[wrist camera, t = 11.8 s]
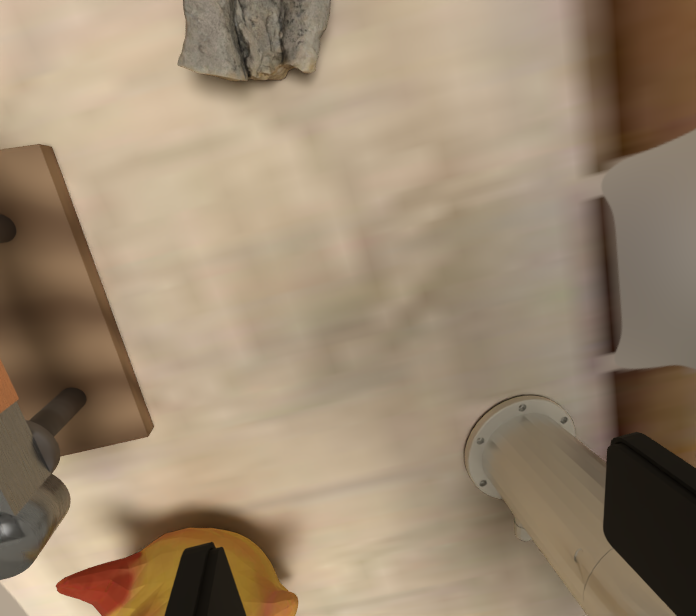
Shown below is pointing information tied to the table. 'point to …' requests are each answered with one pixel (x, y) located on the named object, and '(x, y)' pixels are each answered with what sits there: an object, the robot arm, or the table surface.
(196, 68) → the rock
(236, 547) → the toy
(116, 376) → the rack
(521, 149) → the table surface
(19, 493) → the two-ball handle bar
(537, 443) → the robot arm
